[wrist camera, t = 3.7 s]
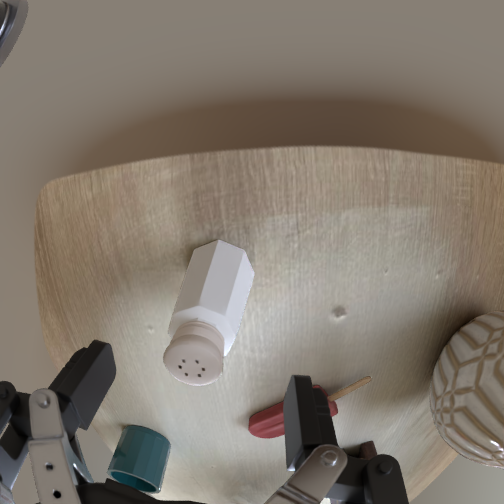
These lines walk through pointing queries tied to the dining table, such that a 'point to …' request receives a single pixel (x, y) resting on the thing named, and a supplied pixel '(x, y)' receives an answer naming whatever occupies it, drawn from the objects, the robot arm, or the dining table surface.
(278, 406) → the popsicle
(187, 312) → the pepper shaker
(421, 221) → the dining table surface
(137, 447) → the cup
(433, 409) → the vase
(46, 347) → the dining table surface
